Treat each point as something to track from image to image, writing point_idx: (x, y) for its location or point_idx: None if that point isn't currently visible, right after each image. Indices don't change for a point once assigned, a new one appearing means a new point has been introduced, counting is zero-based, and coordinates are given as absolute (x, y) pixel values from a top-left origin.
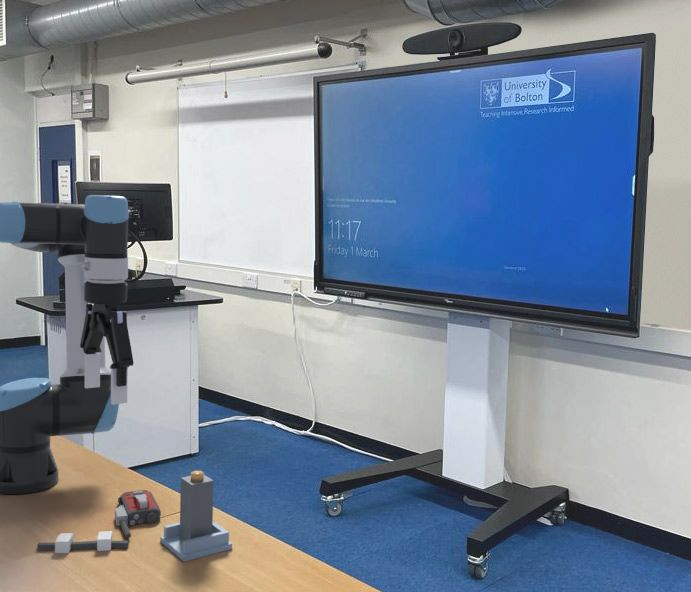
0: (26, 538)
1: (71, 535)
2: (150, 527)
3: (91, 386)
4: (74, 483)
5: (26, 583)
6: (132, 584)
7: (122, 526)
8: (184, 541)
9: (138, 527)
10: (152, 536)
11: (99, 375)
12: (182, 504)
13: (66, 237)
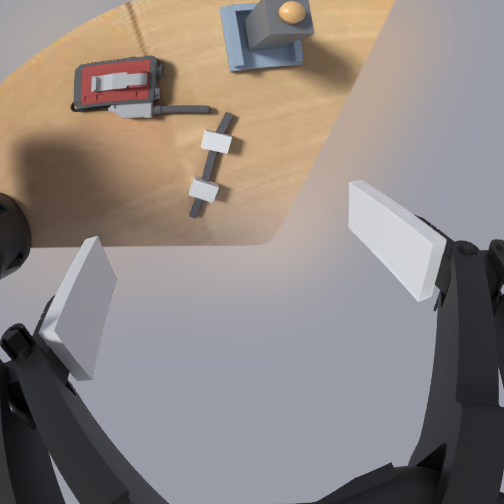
0: (157, 225)
1: (200, 182)
2: (175, 74)
3: (109, 266)
4: (3, 171)
5: (273, 228)
6: (325, 132)
7: (176, 112)
8: (298, 59)
9: (169, 89)
10: (207, 77)
11: (85, 261)
12: (267, 41)
13: None
